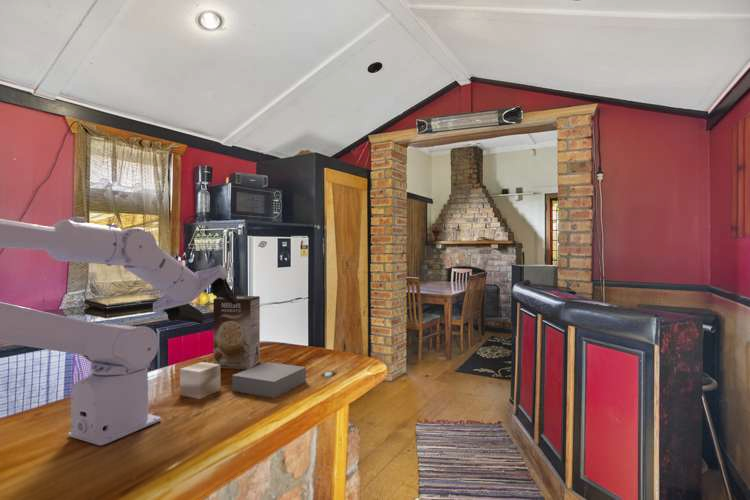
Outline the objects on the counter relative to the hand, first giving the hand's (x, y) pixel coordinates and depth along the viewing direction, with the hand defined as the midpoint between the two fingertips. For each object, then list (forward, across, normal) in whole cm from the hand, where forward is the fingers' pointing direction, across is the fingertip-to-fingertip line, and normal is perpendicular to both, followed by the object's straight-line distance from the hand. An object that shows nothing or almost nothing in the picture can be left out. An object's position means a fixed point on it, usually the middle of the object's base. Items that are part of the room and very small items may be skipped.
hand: (218, 309), depth 81 cm
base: (+11, -2, +14) cm, 18 cm away
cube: (+5, +9, +12) cm, 16 cm away
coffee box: (+19, +9, +1) cm, 21 cm away
